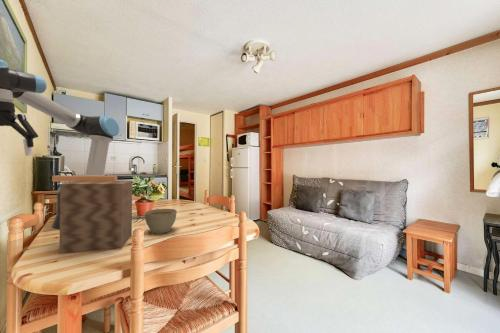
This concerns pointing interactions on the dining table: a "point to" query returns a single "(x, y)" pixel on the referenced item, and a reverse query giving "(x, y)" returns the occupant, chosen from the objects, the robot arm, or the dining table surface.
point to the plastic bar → (83, 178)
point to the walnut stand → (95, 215)
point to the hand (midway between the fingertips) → (8, 156)
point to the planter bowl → (160, 220)
